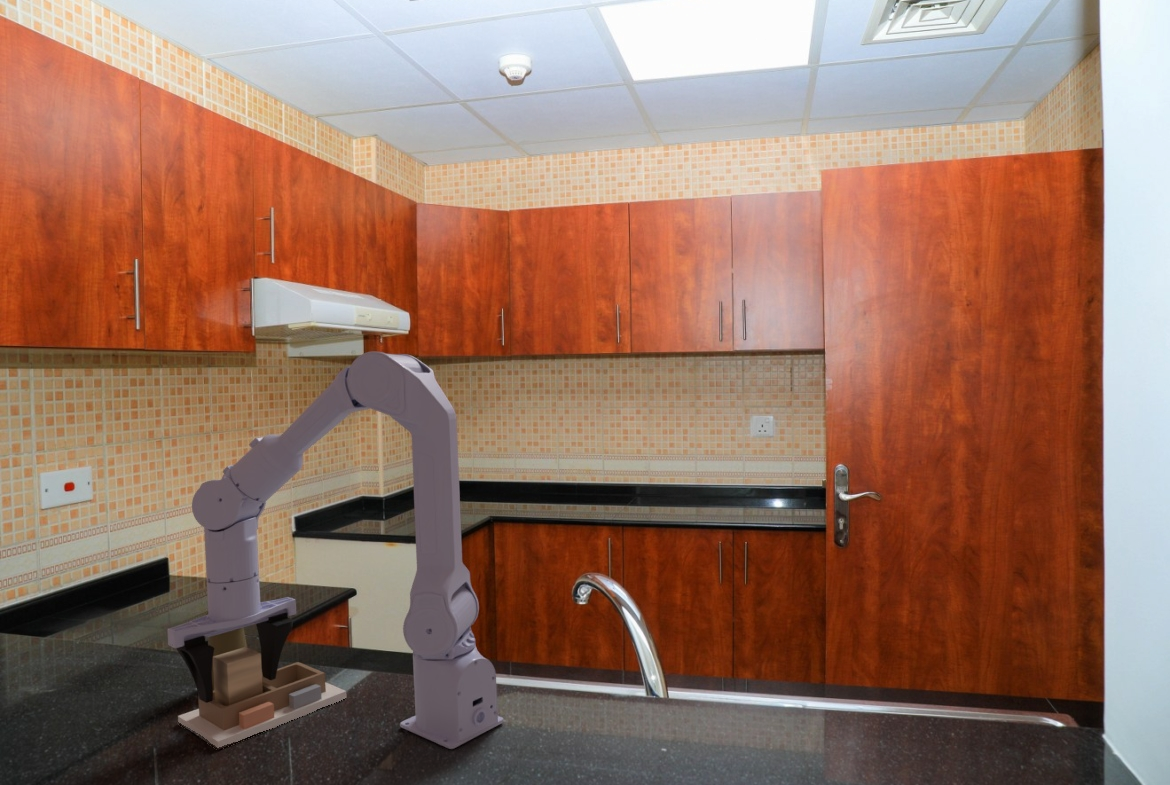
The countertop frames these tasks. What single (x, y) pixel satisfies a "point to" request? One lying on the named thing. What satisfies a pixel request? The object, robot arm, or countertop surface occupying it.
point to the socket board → (264, 706)
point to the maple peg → (237, 676)
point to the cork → (227, 643)
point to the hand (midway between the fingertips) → (238, 688)
